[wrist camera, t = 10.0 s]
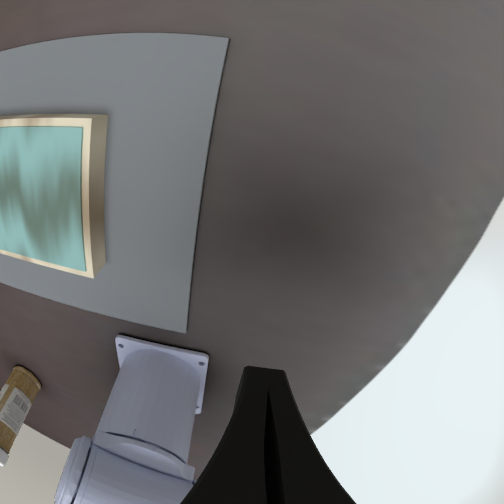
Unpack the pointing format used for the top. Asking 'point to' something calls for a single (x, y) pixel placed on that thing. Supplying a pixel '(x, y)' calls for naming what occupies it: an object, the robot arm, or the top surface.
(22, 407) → the sprinkles bottle
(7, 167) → the teal framed tile
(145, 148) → the slate mat
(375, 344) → the top surface
